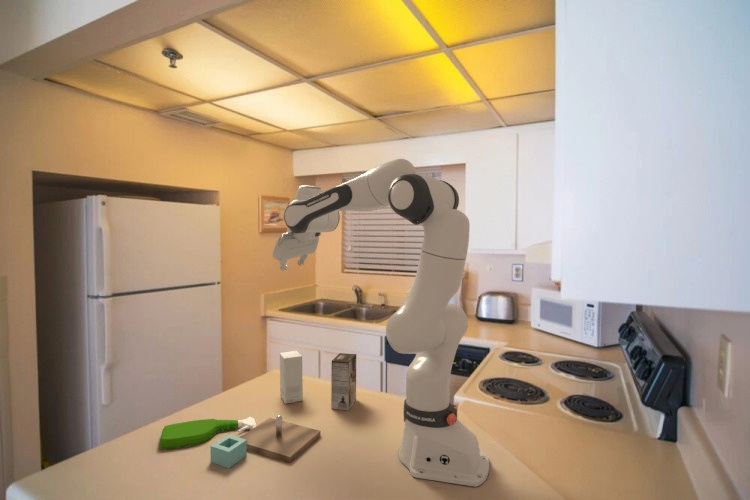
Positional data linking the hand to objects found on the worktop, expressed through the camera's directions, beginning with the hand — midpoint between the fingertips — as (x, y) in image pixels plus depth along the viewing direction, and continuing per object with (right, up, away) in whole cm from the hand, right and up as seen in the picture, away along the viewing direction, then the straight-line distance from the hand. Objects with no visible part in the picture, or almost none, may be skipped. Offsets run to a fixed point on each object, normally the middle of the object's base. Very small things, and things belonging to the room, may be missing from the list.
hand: (291, 267), depth 130 cm
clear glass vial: (+3, -45, -29) cm, 54 cm away
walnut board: (+3, -46, -29) cm, 55 cm away
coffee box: (+19, -46, -5) cm, 50 cm away
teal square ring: (-7, -46, -38) cm, 60 cm away
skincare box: (0, -46, -1) cm, 46 cm away
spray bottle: (-17, -47, -25) cm, 56 cm away
